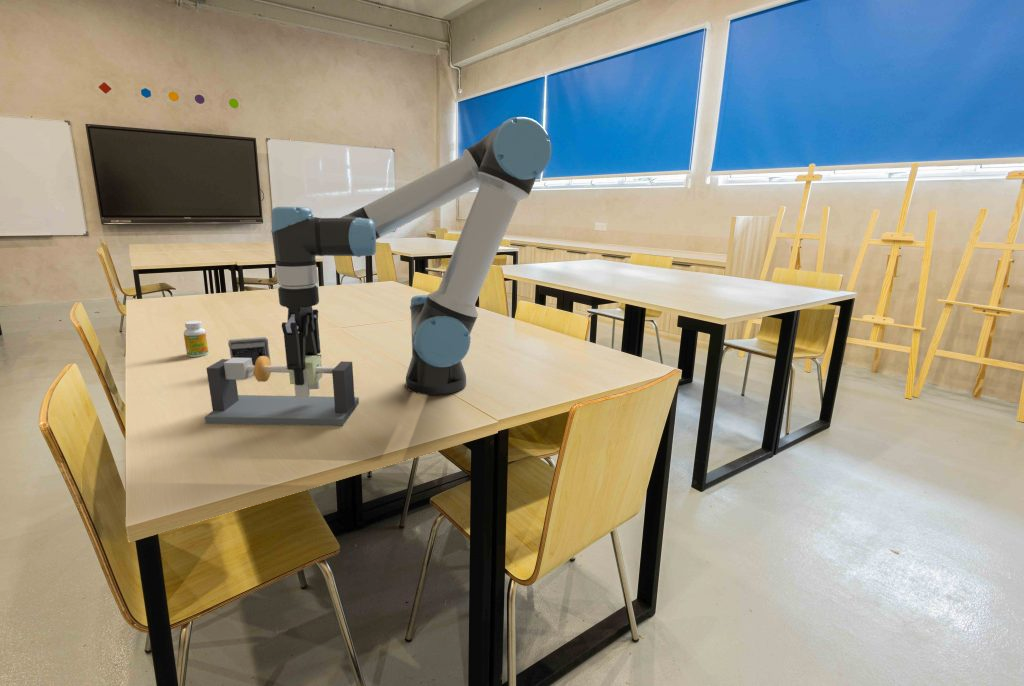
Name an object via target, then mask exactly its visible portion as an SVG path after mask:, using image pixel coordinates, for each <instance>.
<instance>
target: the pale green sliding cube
mask: <svg viewBox="0 0 1024 686" xmlns="http://www.w3.org/2000/svg"><path fill="white" fill-rule="evenodd" d="M315 367H323V366H322V355H321V356H307V355H305V368H307V369H308V380H309V384H310V385H315V384H316V383H317V382H318V381H319V382H320V380H321V379H322V378H323V373H316V369H315ZM288 376H289V384H290V385H294V376H293V370H289V375H288Z"/></svg>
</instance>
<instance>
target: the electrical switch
mask: <svg viewBox="0 0 1024 686" xmlns="http://www.w3.org/2000/svg"><path fill="white" fill-rule="evenodd" d="M227 344H228V348H229V354H230V359H231V358H252V365H255V362H256V360H257V358H258V357H259V356H267V357H268V358H269V360H270V363H271V355H270V347H269V339H268V337H267V336H259V337H245V338H232V339H229V340H228V341H227ZM271 364H272V363H271Z"/></svg>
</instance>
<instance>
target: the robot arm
mask: <svg viewBox="0 0 1024 686" xmlns="http://www.w3.org/2000/svg"><path fill="white" fill-rule="evenodd" d="M551 157H552V143H551V140H550V137H549V134H548V132H547V130H546V129H545V127H543V126H542V124H540V123H539V122H538V121H537V120H534V119H533V118H530V117H526V116H525V117H524V116H518V117H517V116H516V117H515V116H514V117H511V118H508V119H506V120H504V121H503V122H502V123H501V124H499V126H497V127H495V128H494V129H492V130H491V131H490V132H489V133H487V135H485V136H484V137H483V138H482V139H480V140H479V141H477V142H476V143H474V144H473V145H470V146H469V147H467V148H465V149H463V152H462V155H461V156H460V157H458V158H456V159H454V160H452V161H450V162H448V163H446V164H445V165H442V166H439V168H436V169H434V170H432V171H431V172H429V173H426V174H425V175H422V176H421V177H419V178H417V179H415V180H413V181H411V182H409V183H407V184H405V185H403V186H401V187H399V188H398V189H397V188H396V189H395V190H393V191H391V192H390V193H388V194H386V195H383V196H381V197H380V198H378V199H376V200H374V201H372V202H370V203H368V204H366V205H363V207H361V208H358V209H356V210H354V211H352V212H349V213H348V214H345V215H343V216H341V217H317V216H314V215H313V211H312V209H311V208H310V207H307V206H276V207H273V209H272V210H271V215H270V217H271V230H270V233H271V235H272V237H271V238H272V245H273V251H274V261H275V263H274V264H275V269H274V273H276V280H277V285H279V287H278V289H277V291H278V302H279V305H280V306H281V307H285V308H286V309H287V310H288V311H287V322H284V321H283V322H282V323H281V330H282V332H283V333H282V334H283V341H284V349H285V358H286V359H285V360H286V366H287V369H288V370H293V376H294V384H293V385H294V394H295V395H294V396H296V399H309V398H310V396H311V393H310V390H319V389H320V380H319V381H318V382H317V383H316V384H315V385H310V384H309V380H308V369H307V368H305V355H307V356H321V357H322V354H321V342H320V329H319V310H318V309H315V308H314V309H313V307H315V306H317V305H318V304H319V302H320V299H319V298H320V295H319V286H317V285H316V284H318V281H319V280H318V279H319V278H318V270H317V269H318V268H317V259H316V257H317V256H318V257H324V256H327V257H334V256H335V257H357V258H360V257H368V256H370V257H371V256H373V255H375V254H376V251H377V240H378V239H379V238H382V237H384V236H385V235H387V234H390V233H391V232H393V231H395V230H398V229H399V228H401V227H403V226H405V225H407V224H409V223H411V222H412V221H415V220H417V219H419V218H421V217H422V216H425V215H427V214H428V213H430V212H433V211H435V210H436V209H439V208H441V207H442V206H444V205H446V204H448V203H450V202H452V201H454V200H456V199H458V198H460V197H462V196H463V195H464V196H465V194H468V193H470V192H472V191H473V190H476V189H478V191H477V193H476V195H475V198H474V200H473V203H472V205H471V207H470V210H469V213H468V215H467V217H466V220H465V222H464V224H463V227H462V229H461V233H460V235H459V236H458V237H459V238H458V240H457V242H456V245H455V247H454V249H453V252H452V254H451V257H450V260H449V262H448V265H447V266H446V269H445V272H444V274H443V276H442V279H441V281H440V284H439V286H438V288H437V289H436V290H435V291H433V292H430V293H428V294H420V295H419V294H418V295H414V296H412V298H411V299H410V306H409V309H410V323H411V324H410V327H411V329H410V330H411V331H410V332H411V359H410V362H409V365H408V368H407V372H406V374H405V375H406V376H405V386H406V389H407V390H409V391H410V392H413V393H416V394H420V395H427V396H429V395H430V396H437V395H438V396H439V395H450V394H453V393H457V392H459V391H461V390H463V389H464V388H465V387H466V385H467V375H466V371H465V368H464V365H463V362H462V360H463V359H464V358H466V356H467V354H468V352H469V350H470V346H471V339H472V338H471V333H472V330H473V328H474V326H475V323H476V321H477V318H478V316H479V314H478V311H477V308H476V303H477V301H478V298H479V296H480V293H481V291H482V289H483V287H484V283H485V282H486V279H487V277H488V274H489V272H490V270H491V267H492V265H493V263H494V261H495V258H496V256H497V253H498V250H499V248H500V246H501V244H502V242H503V239H504V236H505V235H506V234H505V233H506V232H507V229H508V228H509V225H510V222H511V219H512V217H513V216H514V213H515V211H516V209H517V206H518V203H519V202H520V201H521V200H524V199H527V198H529V196H530V193H531V191H532V189H533V186H534V184H535V182H536V180H537V177H539V176H540V175H541V174H542V173H543V172H544V171H545V169H547V166H548V164H549V162H550V160H551Z"/></svg>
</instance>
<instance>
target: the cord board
mask: <svg viewBox="0 0 1024 686" xmlns="http://www.w3.org/2000/svg"><path fill="white" fill-rule="evenodd" d="M270 361H271V359H270V360H269V358H268V357H267V356H259V357H258V358H257V360H256V362H255V365H252V358H231V357H230V359H228V358H226V359H225V358H222V359H220V360H218V361H217V362H215V363H213V364H212V365H209V366H208V367H206V374H207V380H208V388H209V394H210V401H211V407H212V408H211V409H212V410H211V411H210V412H209V413H208V414H207V415H205V416H204V421H205V422H204V423H205V424H208V425H265V426H267V425H271V426H273V425H275V426H277V425H278V426H326V427H327V426H329V427H330V426H331V427H332V426H333V427H336V426H337V427H343V426H345V424H346V422H347V420H348V419H349V418H350V417H351V415H352V414H353V412H354V411H355V410H356V408H357V407H358V406H359V404H360V398H359V396H355V384H354V383H355V382H354V370H353V368H354V367H353V361H340V362H339V363H338V364H337V365H336V366H322V367H315V369H316V373H322V374H330V375H332V387H333V388H332V389H333V396H317V395H316V396H311V395H310V398H309V399H296V396H295V395H256V394H254V395H253V394H249V395H248V394H239V392H238V387H237V386H238V383H237V380H247V379H249V377H251V376H253V375H254V377H255V379H256V381H258V382H259V383H260V382H261V383H262V382H264V383H265V382H267V381H268V380H269V378H270V376H271V373H276V374H277V373H278V374H279V373H283V374H284V373H285V374H286V373H289V370H288V369H287V365H272V363H270Z"/></svg>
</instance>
